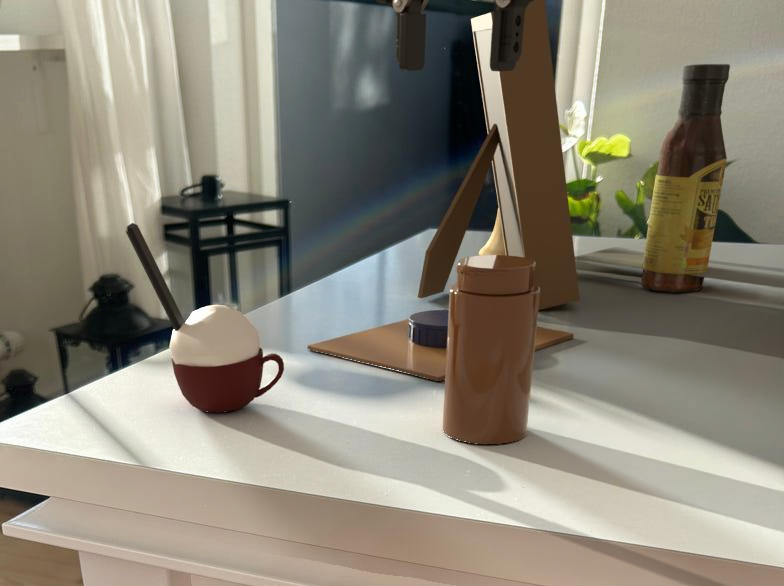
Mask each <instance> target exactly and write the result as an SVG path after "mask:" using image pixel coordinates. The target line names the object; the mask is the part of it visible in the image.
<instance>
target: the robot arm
mask: <svg viewBox="0 0 784 586" xmlns="http://www.w3.org/2000/svg"><path fill="white" fill-rule="evenodd" d="M429 1H430V0H376V3H378V4H384V5H386V6H388V7H390V8H392V9H393V10H394V12H395V15H396V27H395V28H396V29H395V30H396V31H395V33H396V35H395V45H396V46H395V57H396V61H397V62H398V67H399V69H400V70H401V71H403V72H405V71H406V72H407V71H408V72H410V71H411V72H412V71H413V72H414V71H422V70H423V69H424V67H425V64H426V63H425V62H426V61H425V59H426V38H427V37H426V34H427V13H423V12H424V10H425V8H426V7H427V6H428V5H427V4H428V3H429ZM494 1H495V3H496V5H497V6H498V9H494V10H492V12H493V21H492V37H491V52H490V69H491V70H492V71H512V70H514V68H515V66H516V61H519V59H520V56H521V53H522V42H523V29H524V16H525V10H526V8H527V6H528V5H529V3H531V2H532V1H534V0H494Z"/></svg>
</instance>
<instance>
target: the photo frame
mask: <svg viewBox="0 0 784 586" xmlns="http://www.w3.org/2000/svg"><path fill="white" fill-rule="evenodd" d="M492 21H493V11H491V12H488V13H485V14H482V15H479V16H476V17H472V18H470V24H471V30H472V36H473V43H474V44H473V45H474V50H475V56H476V63H477V64H476V65H477V70H478V78H479V85H480V90H481V98H482V103H483V110H484V111H483V112H484V118H485V124H486V125H485V126H486V130H487V135H486V138H485V139H484V141H483V143H482V145H481V147H480V149H479V151H478V153H477V155H476V156H475V157H474V160H473V162H472V164H471V166H470V167H469V170H468V172H467V174H466V175H465V177H464V179H463V181H462V182H461V185H460V187H459V188H458V189H457V190H458V191H457V192H456V194H455V196H454V198H453V200H452V201H451V203H450V206H449V207H448V209H447V211H446V213H445V215H444V217H443V218H442V220H441V222H440V224H439V226H438V228H437V229H436V232H435V233H434V235H433V237H432V239H431V240H430V243H429V245H428V247H427V248H426V251H425V253H424V260H423V266H422V271H421V277H420V281H419V288H418V294H417V298H419V299H425V298H429V297H431V296H434V295H435V296H436V295H438V294H441V293H444V292H445V289H446V286H447V283H448V281H449V278H450V275H451V273H452V270H453V267H454V264H455V262H456V259H457V257H458V254H459V252H460V249H461V246H462V243H463V240H464V238H465V235H466V232H467V230H468V227H469V224H470V221H471V219H472V216H473V214H474V210H475V208H476V205H477V202H478V200H479V197H480V194H481V193H482V192H481V191H482V189H483V186H484V184H485V181H486V179H487V177H488V176H487V175H488V173H489V170H490V168H491V166H492V171H493V179H494V184H495V185H494V186H495V191H496V198H497V205H498V208H499V213H500V219H501V226H502V233H503V240H504V246H505V253H506V255H507V256H518V257H524V258H528V259H531V260H533V261H535V263H536V268H535V279H534V285H536V286H538V287H539V288H540V298H539V308H538V311H540V310H545V309H549V308H553V307H557V306H558V307H559V306H561V305H566V304H570V303H575V302H579V301H581V299H580V289H579V281H578V274H577V273H578V271H577V264H576V256H575V255H576V254H575V245H574V238H573V230H572V224H571V223H572V222H571V213H570V205H569V197H568V196H569V195H568V188H567V180H566V179H567V178H566V171H565V161H564V155H563V153H564V152H563V145H562V138H561V136H562V135H561V127H560V120H559V109H558V101H557V93H556V86H555V76H554V68H553V59H552V51H551V43H550V42H551V41H550V33H549V24H548V16H547V8H546V0H534V1H532V2H531V3H529V5H528V6H527V8H526V10H525V16H524V29H523V42H522V53H521V56H520V59H519V61H516V66H515V68H514V70H512V71H492V70H491V69H490V52H491V37H492Z"/></svg>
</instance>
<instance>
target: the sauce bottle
mask: <svg viewBox="0 0 784 586" xmlns="http://www.w3.org/2000/svg"><path fill="white" fill-rule="evenodd" d="M730 68H731V64H729V63H689V64H685V65H684V66H683V69H682V70H683V72H682V78H681V80H682V91H681V98H680V105H679V109H678V111H677V117H678V119H677V120H676V122H675V123H674V125H673V127H672V129H671V130H670V131H668V133H667V134H666V136H665V138H664V140H663V141H662V143H661V148H660V151H659V161H658V167H657V173H656V174H655V179H654V185H653V192H652V199H651V206H650V211H649V219H648V226H647V232H646V238H645V244H644V245H645V246H644V251H643V260H642V266H641V268H642V276H641V286H642V287H644V289H648V290H650V291H656V292H666V293H667V292H668V293H680V292H681V293H682V292H692V291H698V290H700V289H701V288H702V287H703V285H704V282H705V281H704V280H705V276H700V275H699V274H704V273H707V271H708V268H709V262H710V256H711V251H712V245H713V240H714V233H715V228H716V223H717V217H718V211H719V206H720V200H721V195H722V188H723V182H724V178H725V171H726V167H727V166H726V165H727V161H728V159H727V158H728V157H727V152H726V146H725V139H724V134H723V126H722V119H721V116H722V114H723V111H722V107H723V99H724V94H725V90H726V89H725V88H726V84H727V82H728V81H729V78H730ZM697 274H698V275H697Z"/></svg>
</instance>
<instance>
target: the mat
mask: <svg viewBox="0 0 784 586" xmlns="http://www.w3.org/2000/svg"><path fill="white" fill-rule="evenodd" d="M443 310H447V309H446V308H445V309H443ZM408 323H409V318H407V319H403V320H399V321H396V322H392V323H388V324H384V325H380V326H376V327H373V328H368V329H364V330H360V331H357V332H354V333H349V334H345V335H343V336H342V335H341V336H338V337H334V338H331V339H327V340H323V341H319V342H316V343H311V344H308V345H306V347H307V350H308V349H310V350H314V351H318V352H323V353H327V354H332V355H336V356H340V357H344V358H348V359H352V360H356V361H360V362H364V363H369V364H373V365H377V366H382V367H386V368H391V369H394V370H399V371H402V372H406V373H410V374H413V375H417V376H421V377H425V378H428V379H431V380H435V381H434V382H436V381H441V380H444V379H445V371H446V352H447V348H441V347H428V346H422V345H418V344H415V343H413V342H411V341H410V340H409V338H408ZM572 339H574V333H573V332H568V331H563V330H557V329H552V328H548V327H541V326H537V329H536V339H535V350H534V352H535V351H538V350H541V349H543V348H548V347H550V346H554V345H557V344H559V343H562V342H565V341H568V340H572ZM431 380H430V381H431ZM444 381H445V380H444ZM441 382H442V381H441Z"/></svg>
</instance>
